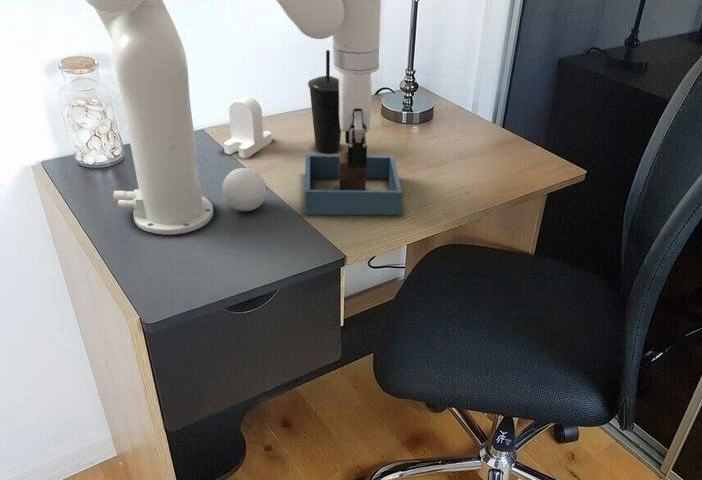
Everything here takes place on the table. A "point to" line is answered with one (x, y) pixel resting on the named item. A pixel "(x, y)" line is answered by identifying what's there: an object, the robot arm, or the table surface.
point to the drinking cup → (325, 110)
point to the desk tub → (352, 199)
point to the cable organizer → (246, 128)
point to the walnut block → (350, 175)
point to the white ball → (244, 189)
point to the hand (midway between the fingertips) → (355, 154)
